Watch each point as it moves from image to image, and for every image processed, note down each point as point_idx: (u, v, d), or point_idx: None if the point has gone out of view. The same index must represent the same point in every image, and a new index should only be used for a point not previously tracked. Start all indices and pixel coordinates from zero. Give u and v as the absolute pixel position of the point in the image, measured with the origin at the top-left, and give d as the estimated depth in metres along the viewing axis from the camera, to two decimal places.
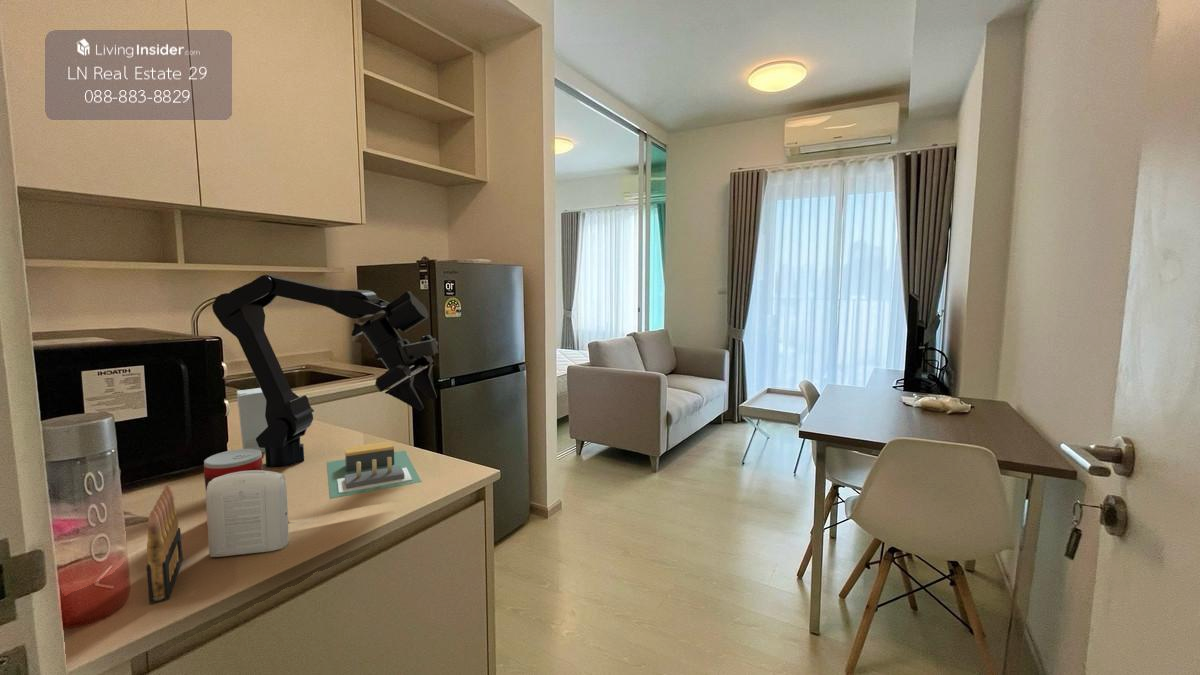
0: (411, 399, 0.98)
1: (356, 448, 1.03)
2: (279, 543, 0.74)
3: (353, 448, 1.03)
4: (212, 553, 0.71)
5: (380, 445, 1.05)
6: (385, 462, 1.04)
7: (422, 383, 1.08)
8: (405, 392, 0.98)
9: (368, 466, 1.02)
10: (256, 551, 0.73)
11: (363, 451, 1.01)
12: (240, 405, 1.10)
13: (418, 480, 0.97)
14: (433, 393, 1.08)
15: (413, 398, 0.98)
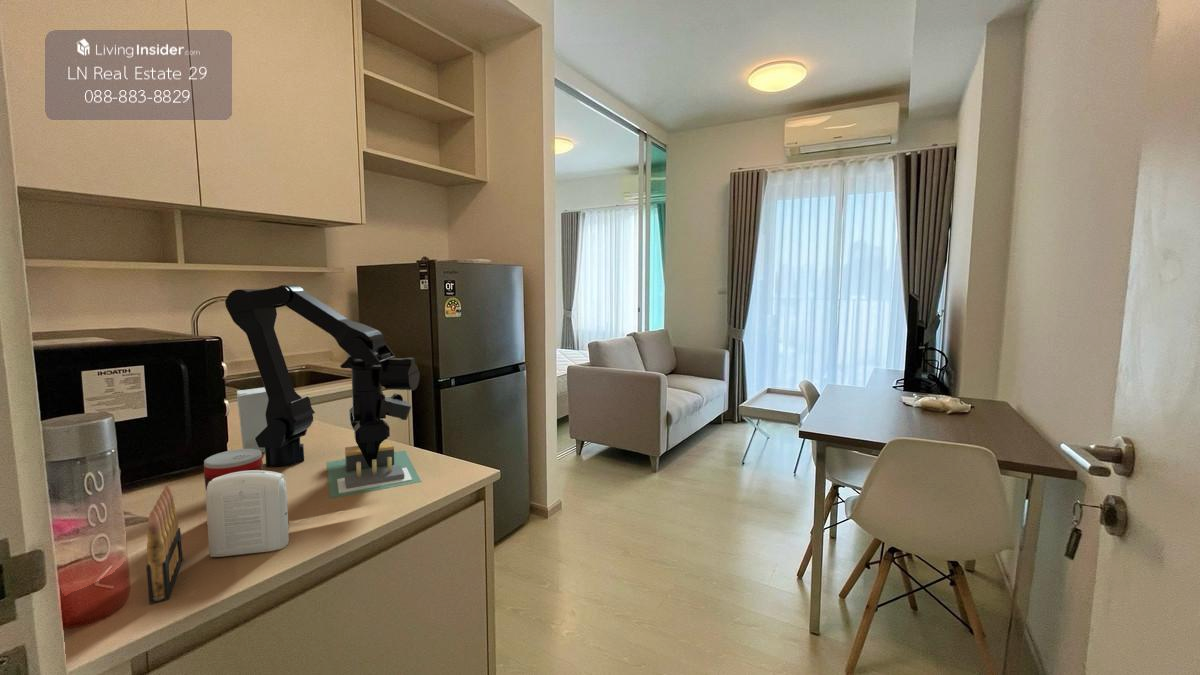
0: (371, 454, 0.99)
1: (356, 448, 1.03)
2: (279, 543, 0.74)
3: (353, 448, 1.03)
4: (212, 553, 0.71)
5: (380, 445, 1.05)
6: (385, 462, 1.04)
7: None
8: (370, 446, 0.98)
9: (368, 466, 1.02)
10: (256, 551, 0.73)
11: None
12: (240, 405, 1.10)
13: (418, 480, 0.97)
14: None
15: (373, 454, 0.99)
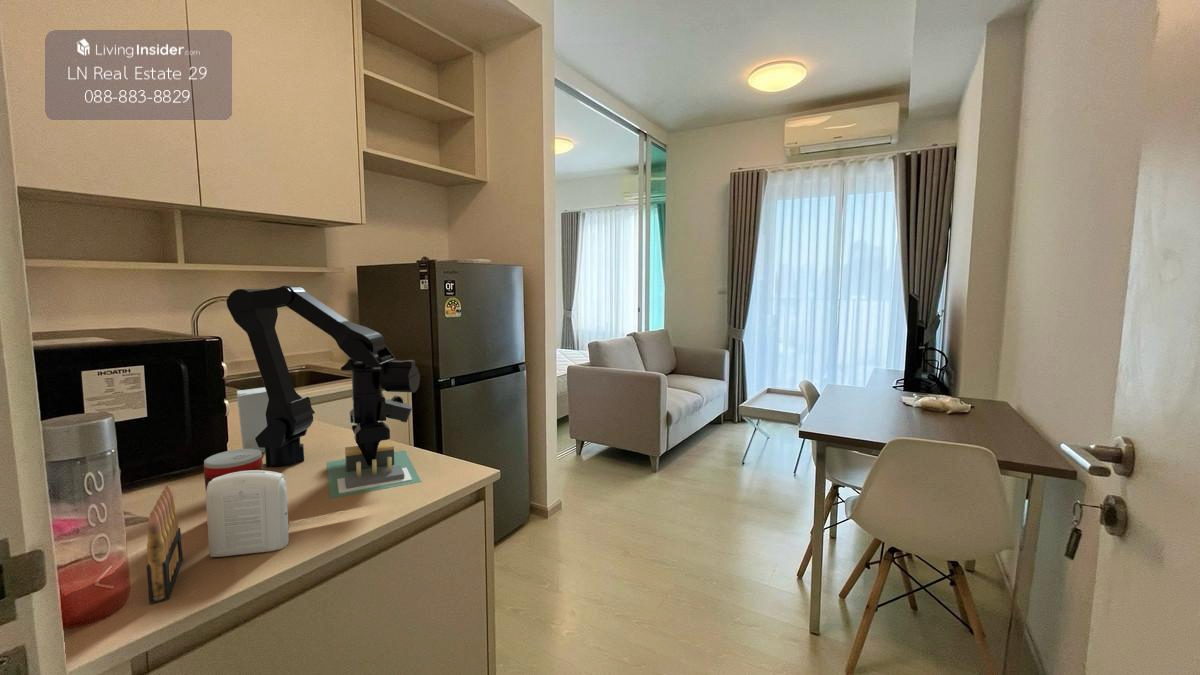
0: (370, 453, 1.01)
1: (356, 448, 1.03)
2: (279, 543, 0.74)
3: (353, 448, 1.03)
4: (212, 553, 0.71)
5: (380, 445, 1.05)
6: (385, 462, 1.04)
7: None
8: (369, 445, 1.01)
9: (368, 466, 1.02)
10: (256, 551, 0.73)
11: None
12: (240, 405, 1.10)
13: (418, 480, 0.97)
14: None
15: (372, 453, 1.01)
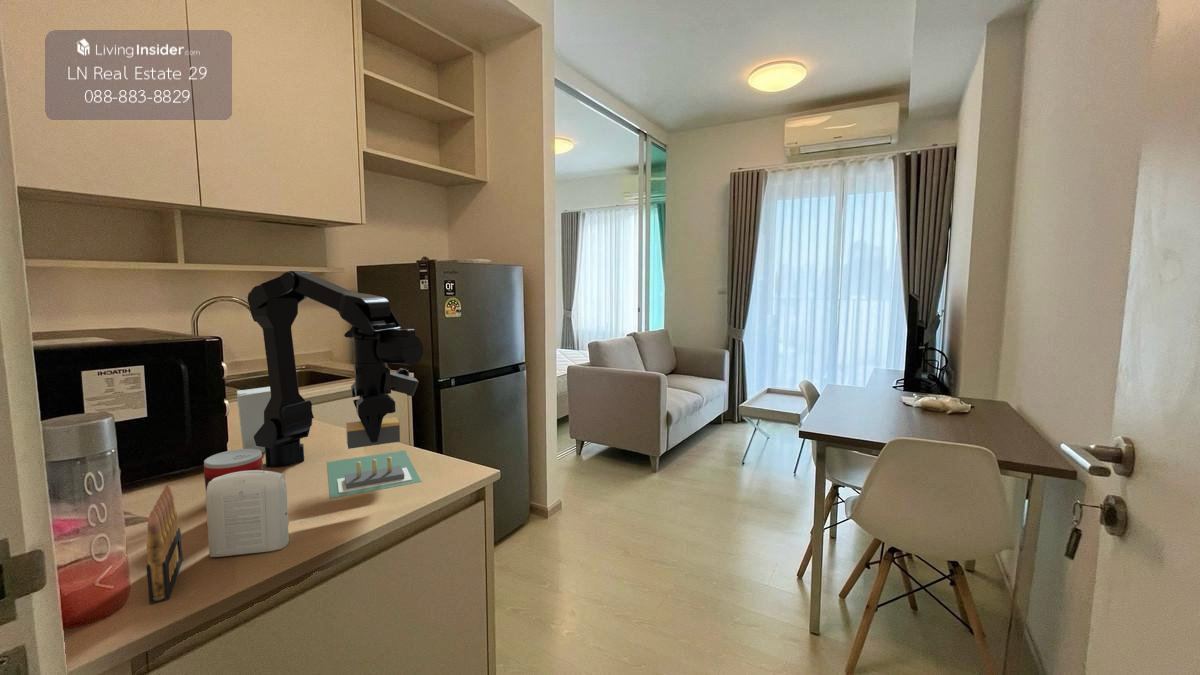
0: (373, 429, 0.92)
1: (358, 423, 0.94)
2: (279, 543, 0.74)
3: (355, 423, 0.94)
4: (212, 553, 0.71)
5: (384, 421, 0.96)
6: (390, 439, 0.95)
7: None
8: (372, 420, 0.92)
9: (371, 443, 0.94)
10: (256, 551, 0.73)
11: None
12: (240, 405, 1.10)
13: (418, 480, 0.97)
14: None
15: (376, 429, 0.93)
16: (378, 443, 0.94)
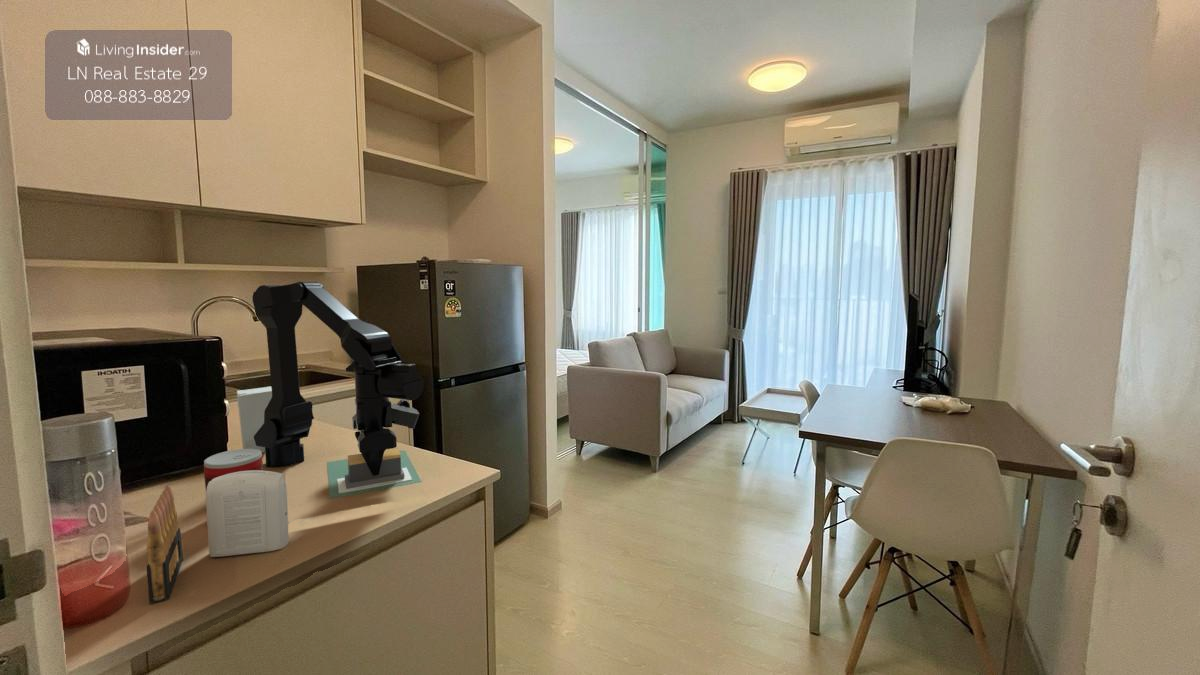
0: (375, 462, 0.93)
1: (359, 456, 0.95)
2: (279, 543, 0.74)
3: (356, 456, 0.95)
4: (212, 553, 0.71)
5: (385, 453, 0.97)
6: (391, 471, 0.96)
7: None
8: (374, 453, 0.93)
9: (373, 476, 0.94)
10: (256, 551, 0.73)
11: None
12: (240, 405, 1.10)
13: (418, 480, 0.97)
14: None
15: (377, 462, 0.93)
16: (379, 476, 0.95)
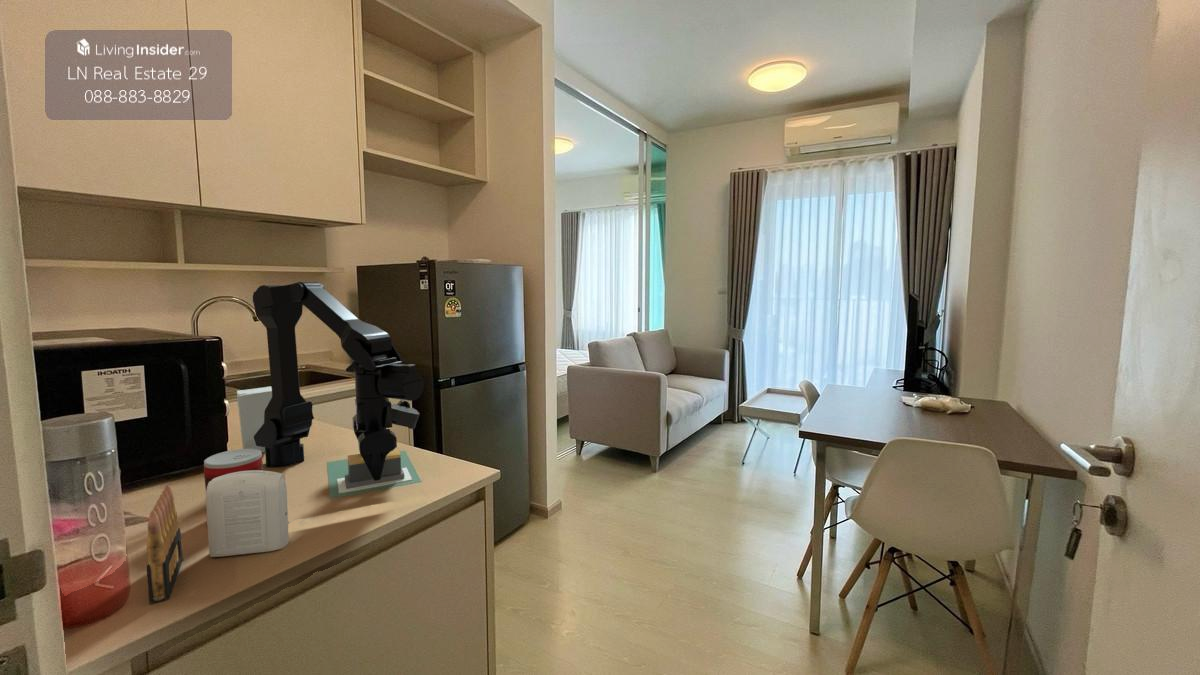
0: (376, 467, 0.91)
1: (359, 456, 0.95)
2: (279, 543, 0.74)
3: (356, 456, 0.95)
4: (212, 553, 0.71)
5: None
6: (391, 471, 0.96)
7: None
8: (375, 458, 0.91)
9: None
10: (256, 551, 0.73)
11: None
12: (240, 405, 1.10)
13: (418, 480, 0.97)
14: None
15: (379, 467, 0.91)
16: None
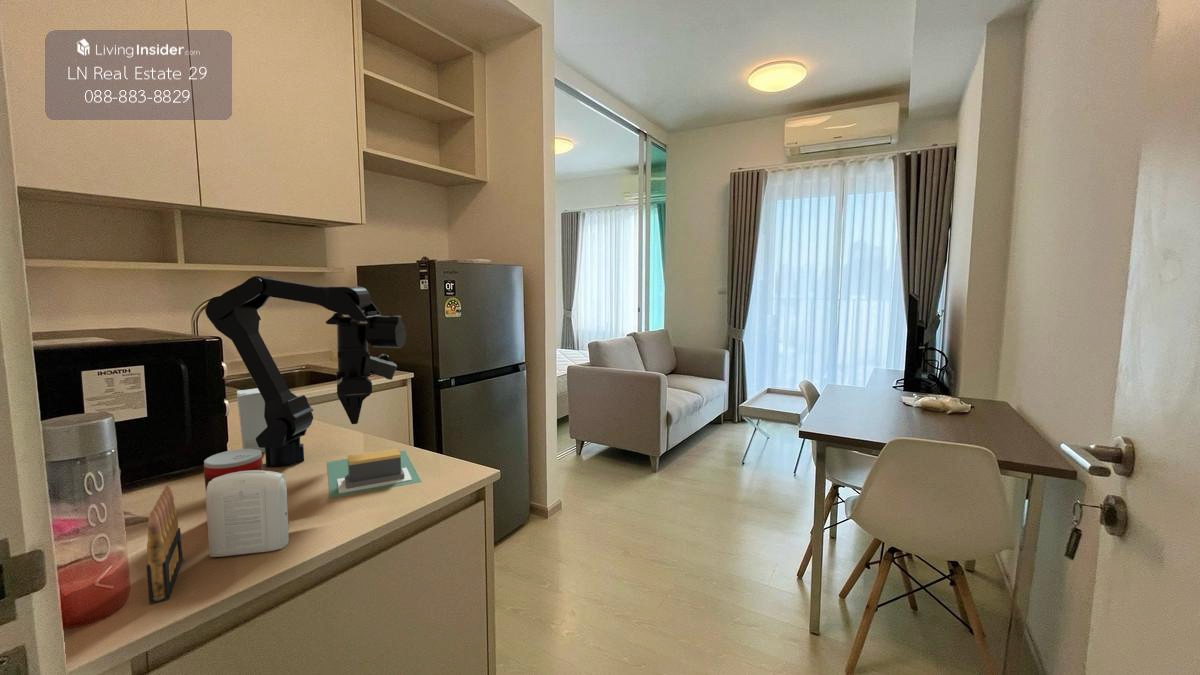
0: (353, 411, 0.98)
1: (359, 456, 0.95)
2: (279, 543, 0.74)
3: (356, 456, 0.95)
4: (212, 553, 0.71)
5: (385, 453, 0.97)
6: (391, 471, 0.96)
7: None
8: (353, 402, 0.98)
9: (373, 476, 0.94)
10: (256, 551, 0.73)
11: (367, 459, 0.94)
12: (240, 405, 1.10)
13: (418, 480, 0.97)
14: None
15: (356, 411, 0.99)
16: (379, 476, 0.95)
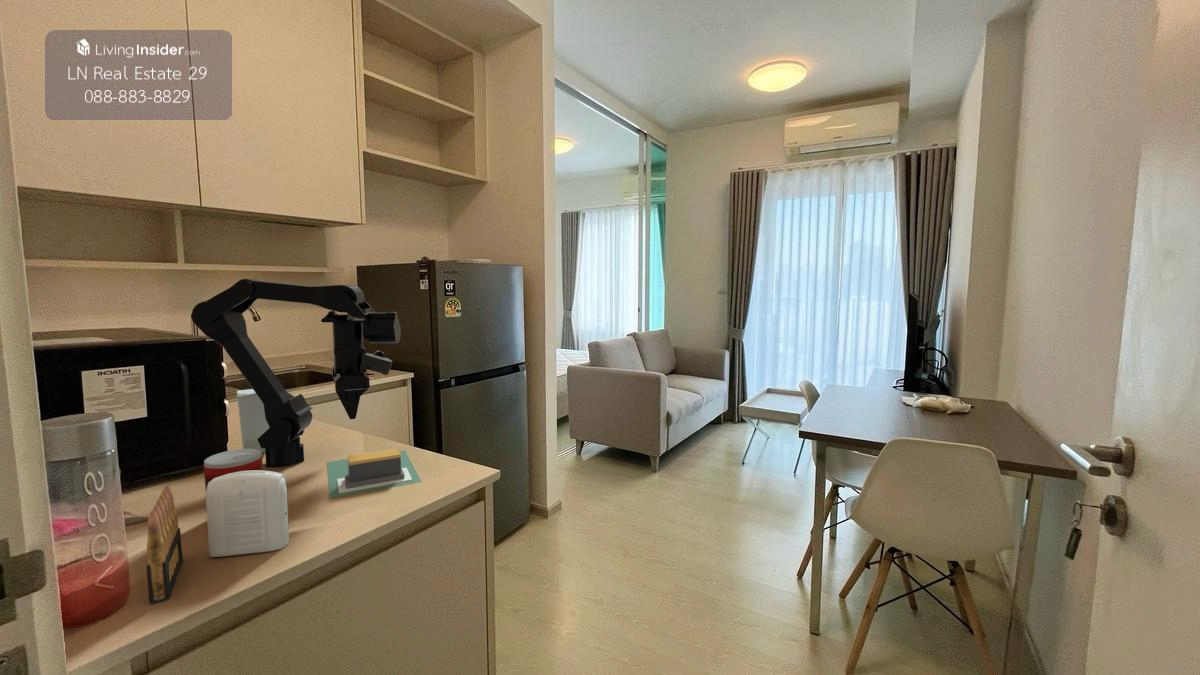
0: (351, 406, 1.00)
1: (359, 456, 0.95)
2: (279, 543, 0.74)
3: (356, 456, 0.95)
4: (212, 553, 0.71)
5: (385, 453, 0.97)
6: (391, 471, 0.96)
7: None
8: (350, 398, 1.00)
9: (373, 476, 0.94)
10: (256, 551, 0.73)
11: (367, 459, 0.94)
12: (240, 405, 1.10)
13: (418, 480, 0.97)
14: None
15: (354, 406, 1.01)
16: (379, 476, 0.95)
